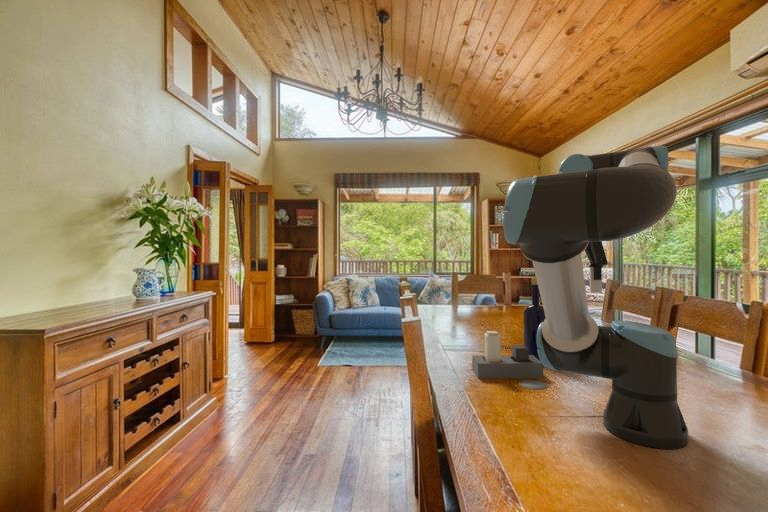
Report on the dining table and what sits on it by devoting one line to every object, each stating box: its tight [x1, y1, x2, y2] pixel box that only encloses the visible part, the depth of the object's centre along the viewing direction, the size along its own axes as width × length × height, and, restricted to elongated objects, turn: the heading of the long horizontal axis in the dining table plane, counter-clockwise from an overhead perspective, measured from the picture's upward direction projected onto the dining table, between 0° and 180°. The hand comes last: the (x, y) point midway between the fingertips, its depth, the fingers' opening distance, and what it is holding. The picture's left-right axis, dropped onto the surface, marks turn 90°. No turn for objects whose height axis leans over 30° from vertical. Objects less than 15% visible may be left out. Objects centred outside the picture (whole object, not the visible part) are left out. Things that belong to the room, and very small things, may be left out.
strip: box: [471, 344, 544, 379], centre depth 118 cm, size 10×20×9 cm, turn 88°
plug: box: [483, 330, 501, 362], centre depth 118 cm, size 4×4×13 cm
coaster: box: [518, 379, 549, 391], centre depth 108 cm, size 8×8×1 cm
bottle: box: [523, 277, 546, 360], centre depth 132 cm, size 9×9×30 cm
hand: (582, 290), depth 102 cm, fingers open, 13 cm apart
